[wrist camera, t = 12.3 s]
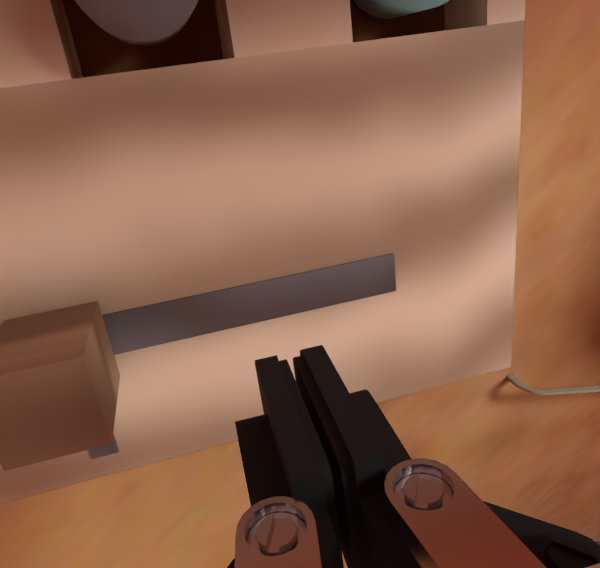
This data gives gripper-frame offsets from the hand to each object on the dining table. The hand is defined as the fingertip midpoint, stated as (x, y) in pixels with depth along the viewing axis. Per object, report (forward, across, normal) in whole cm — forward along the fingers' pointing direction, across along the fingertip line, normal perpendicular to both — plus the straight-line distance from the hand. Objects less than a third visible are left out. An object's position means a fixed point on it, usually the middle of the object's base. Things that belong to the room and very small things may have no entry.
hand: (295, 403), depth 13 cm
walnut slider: (+8, +7, +1) cm, 10 cm away
